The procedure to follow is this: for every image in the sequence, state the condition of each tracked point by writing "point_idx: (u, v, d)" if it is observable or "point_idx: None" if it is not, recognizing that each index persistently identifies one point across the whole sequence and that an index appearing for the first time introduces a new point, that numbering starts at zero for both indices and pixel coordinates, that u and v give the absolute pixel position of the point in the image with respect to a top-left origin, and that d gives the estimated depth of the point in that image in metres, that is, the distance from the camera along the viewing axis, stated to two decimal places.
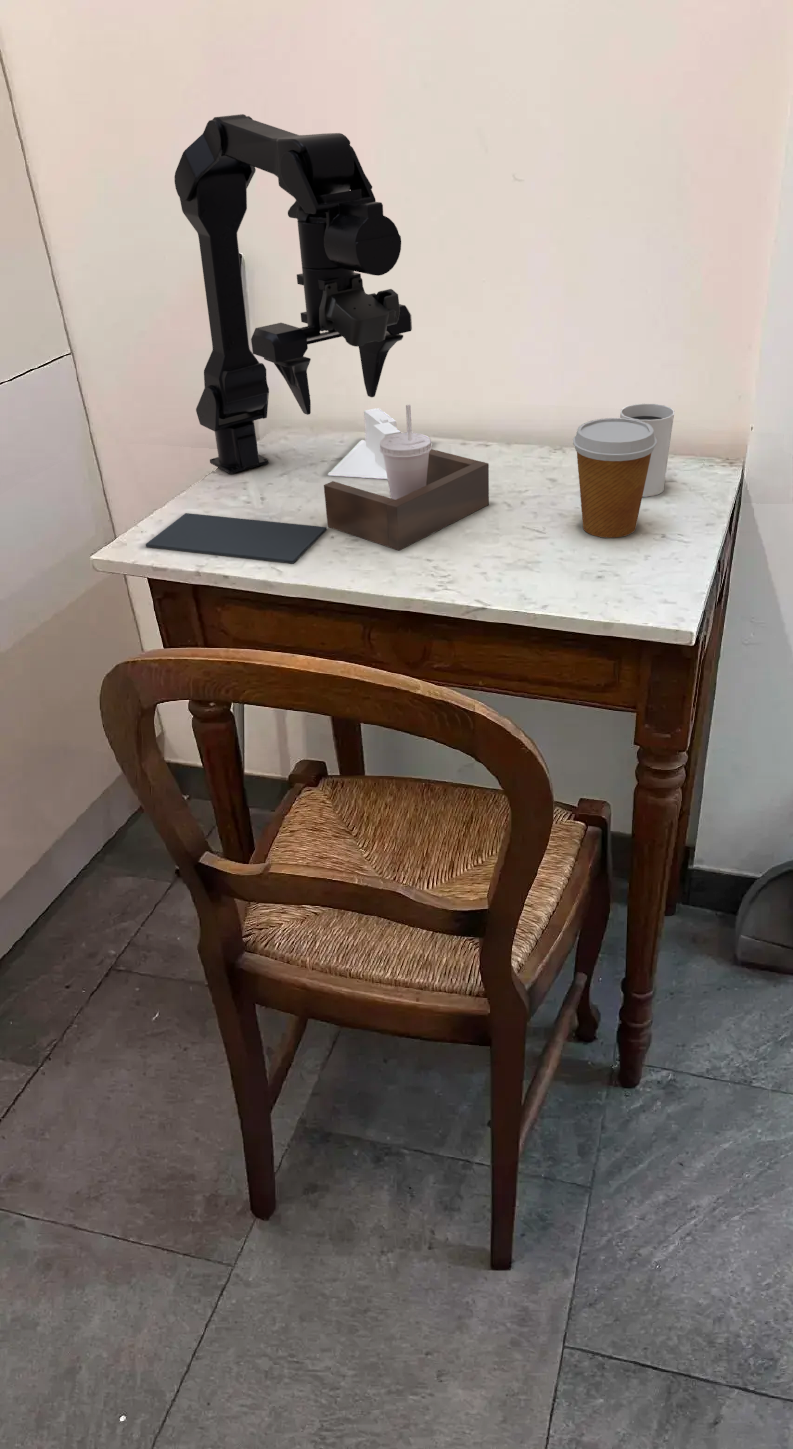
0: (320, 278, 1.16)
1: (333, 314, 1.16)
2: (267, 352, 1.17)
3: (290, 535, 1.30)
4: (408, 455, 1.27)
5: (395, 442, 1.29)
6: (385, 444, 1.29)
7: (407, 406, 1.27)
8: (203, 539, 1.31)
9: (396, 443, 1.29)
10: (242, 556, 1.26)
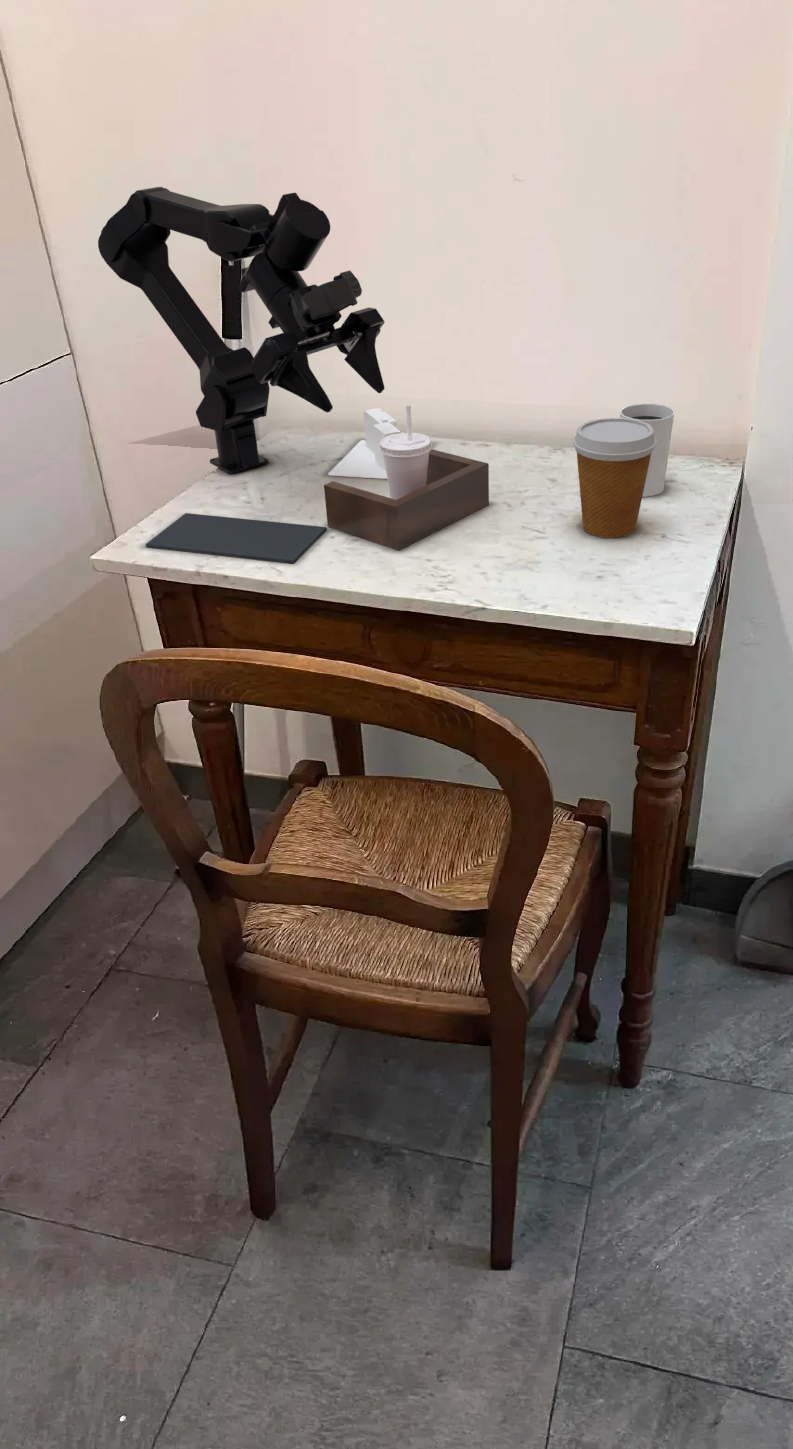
0: (283, 296, 1.29)
1: (305, 306, 1.27)
2: (267, 359, 1.26)
3: (290, 535, 1.30)
4: (408, 455, 1.27)
5: (395, 442, 1.29)
6: (385, 444, 1.29)
7: (407, 406, 1.27)
8: (203, 539, 1.31)
9: (396, 443, 1.29)
10: (242, 556, 1.26)
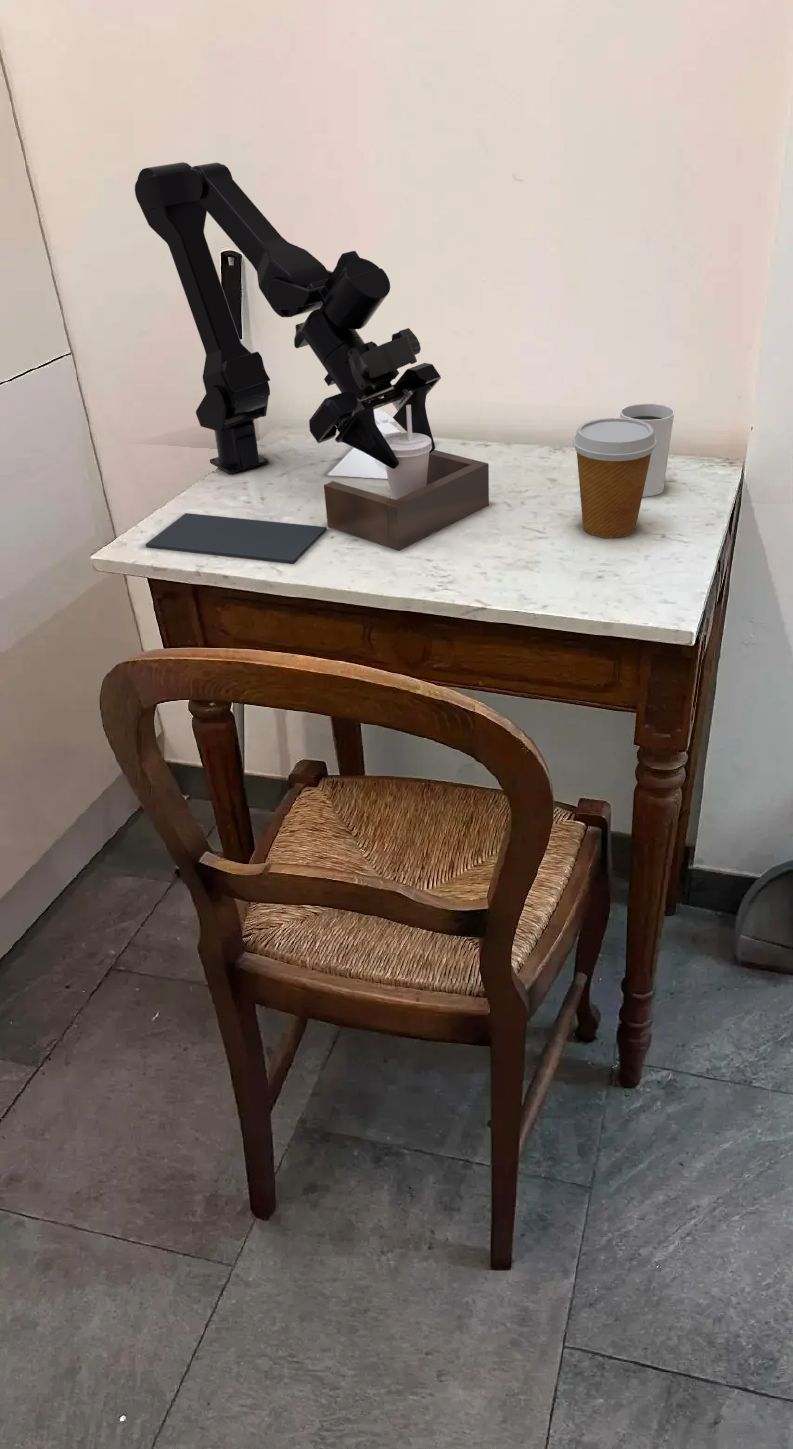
0: (341, 354, 1.27)
1: (364, 365, 1.25)
2: (326, 420, 1.23)
3: (290, 535, 1.30)
4: (408, 455, 1.27)
5: (395, 442, 1.29)
6: None
7: (407, 406, 1.27)
8: (203, 539, 1.31)
9: (396, 443, 1.29)
10: (242, 556, 1.26)
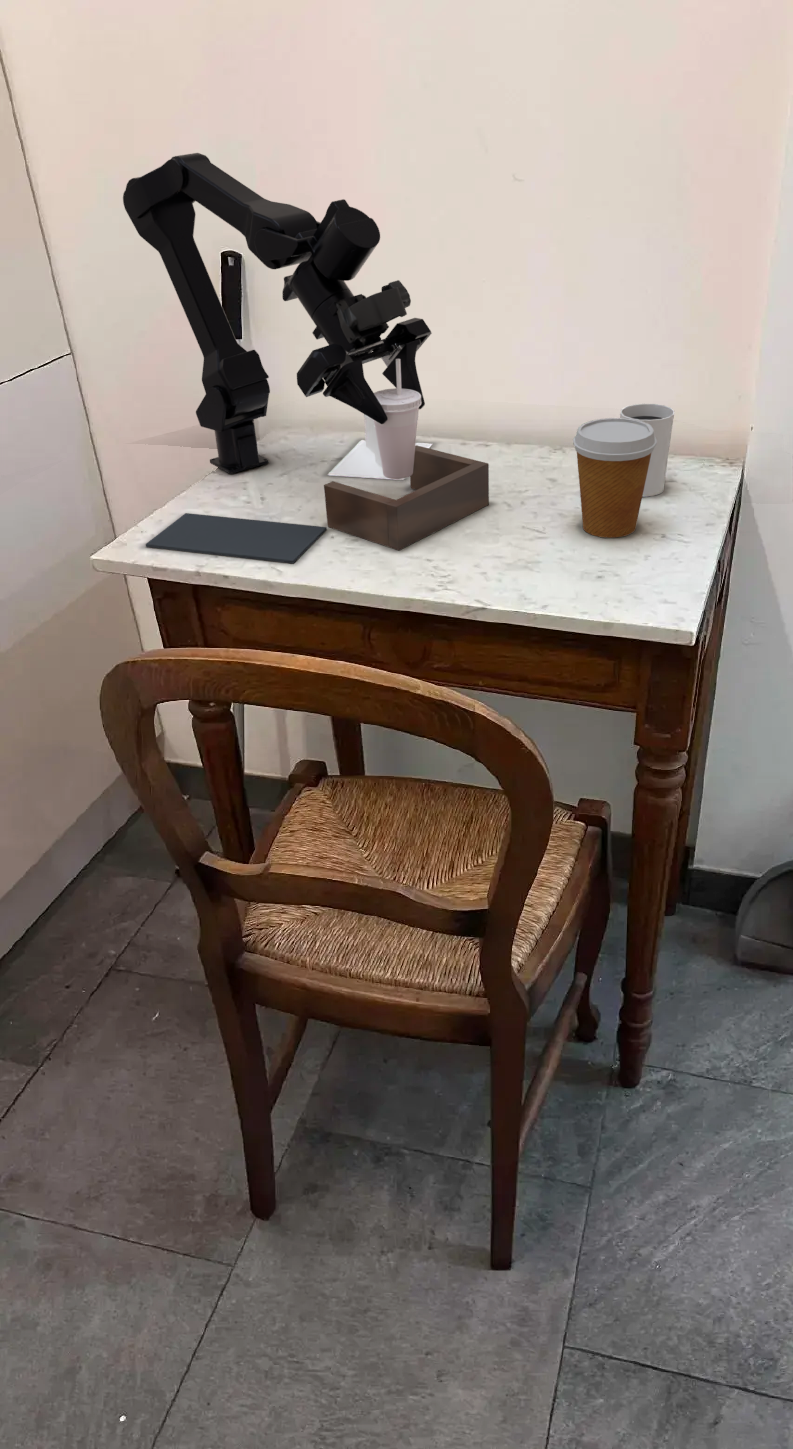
0: (329, 306, 1.25)
1: (353, 317, 1.23)
2: (314, 372, 1.21)
3: (290, 535, 1.30)
4: (397, 410, 1.25)
5: (384, 397, 1.27)
6: None
7: (397, 360, 1.25)
8: (203, 539, 1.31)
9: (385, 398, 1.27)
10: (242, 556, 1.26)
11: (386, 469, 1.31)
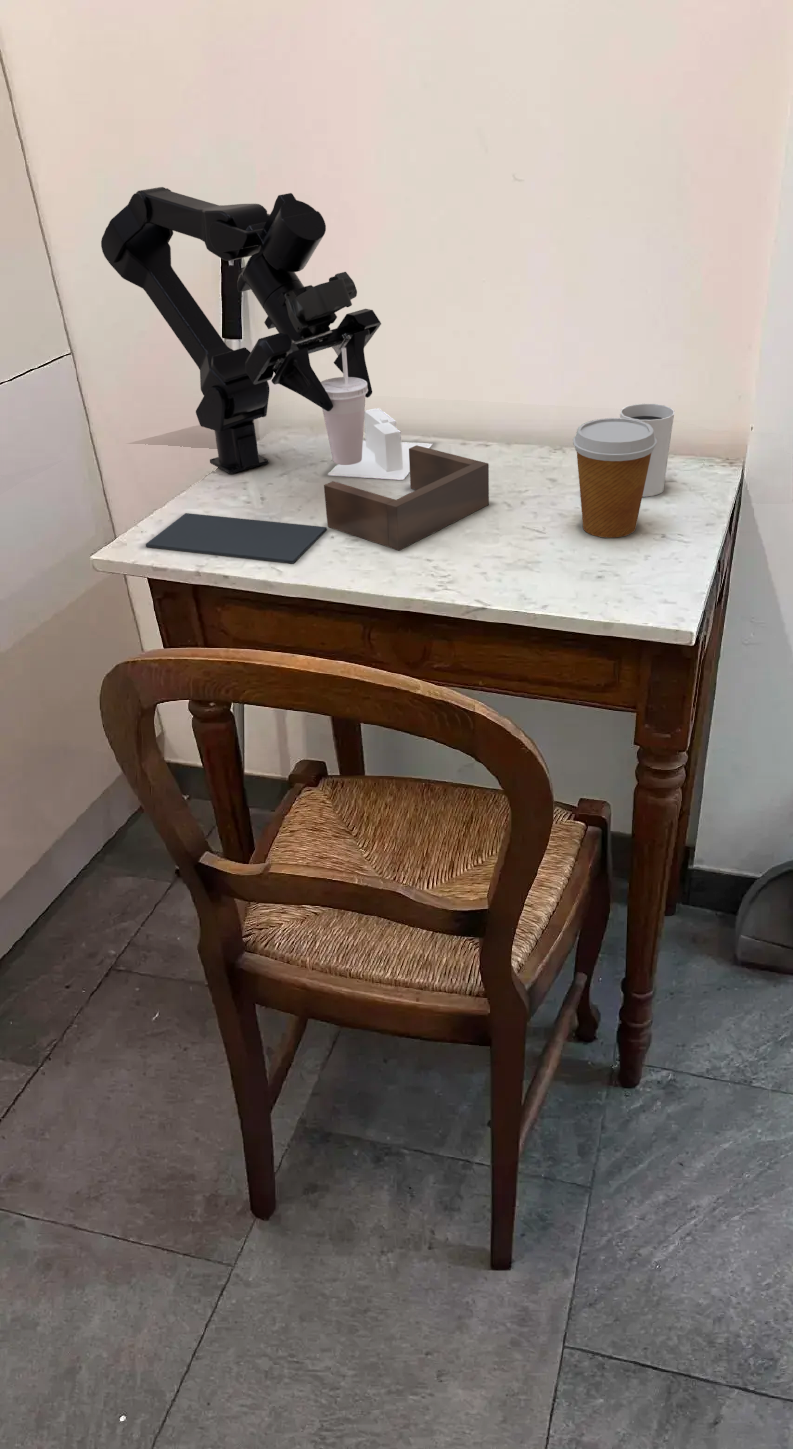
0: (279, 297, 1.29)
1: (300, 307, 1.27)
2: (260, 360, 1.26)
3: (290, 535, 1.30)
4: (343, 397, 1.29)
5: (331, 385, 1.31)
6: None
7: (342, 349, 1.29)
8: (203, 539, 1.31)
9: (332, 386, 1.31)
10: (242, 556, 1.26)
11: (335, 455, 1.35)
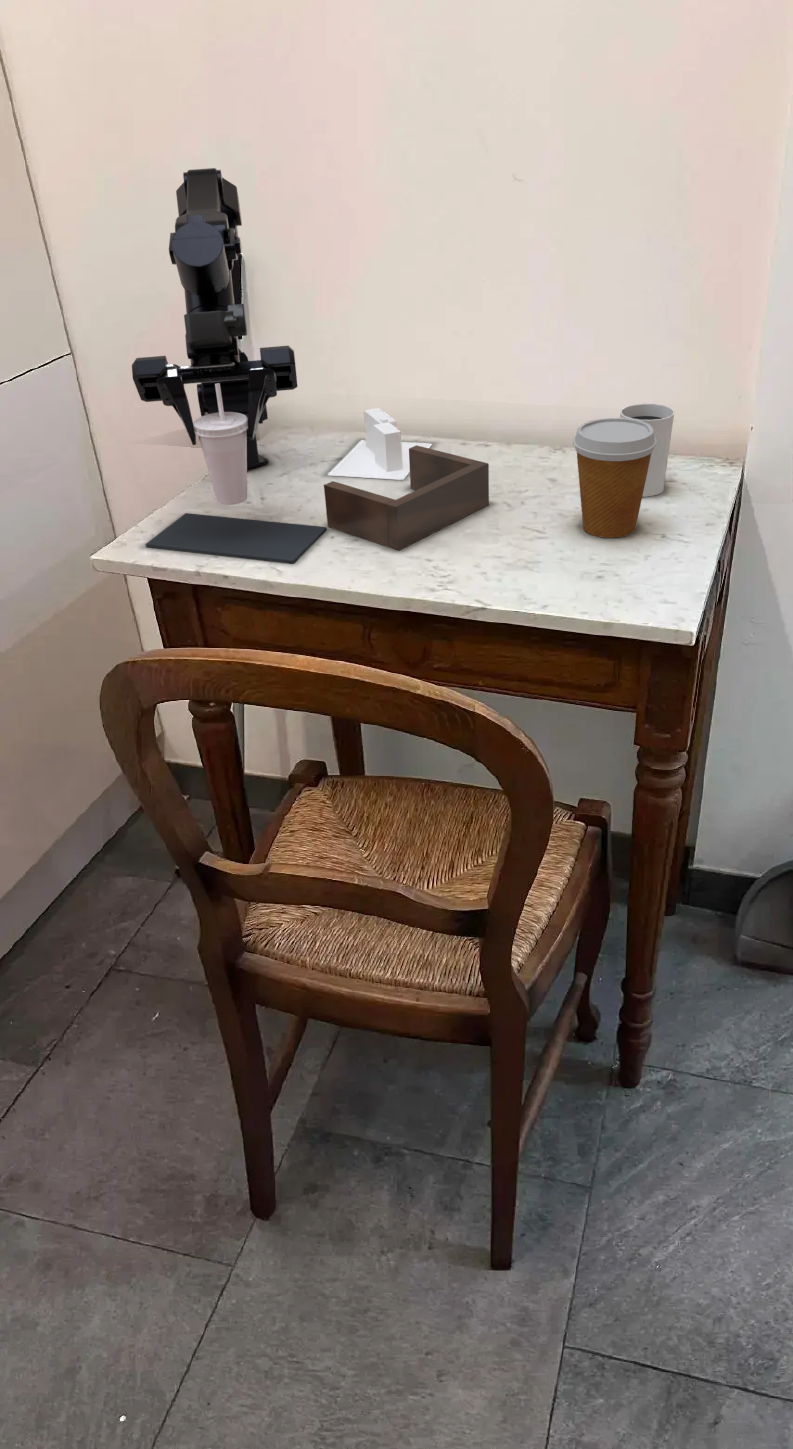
0: None
1: None
2: None
3: (290, 535, 1.30)
4: (202, 434, 1.22)
5: (210, 419, 1.24)
6: (202, 419, 1.24)
7: (215, 384, 1.21)
8: (203, 539, 1.31)
9: (210, 420, 1.24)
10: (242, 556, 1.26)
11: (214, 491, 1.28)
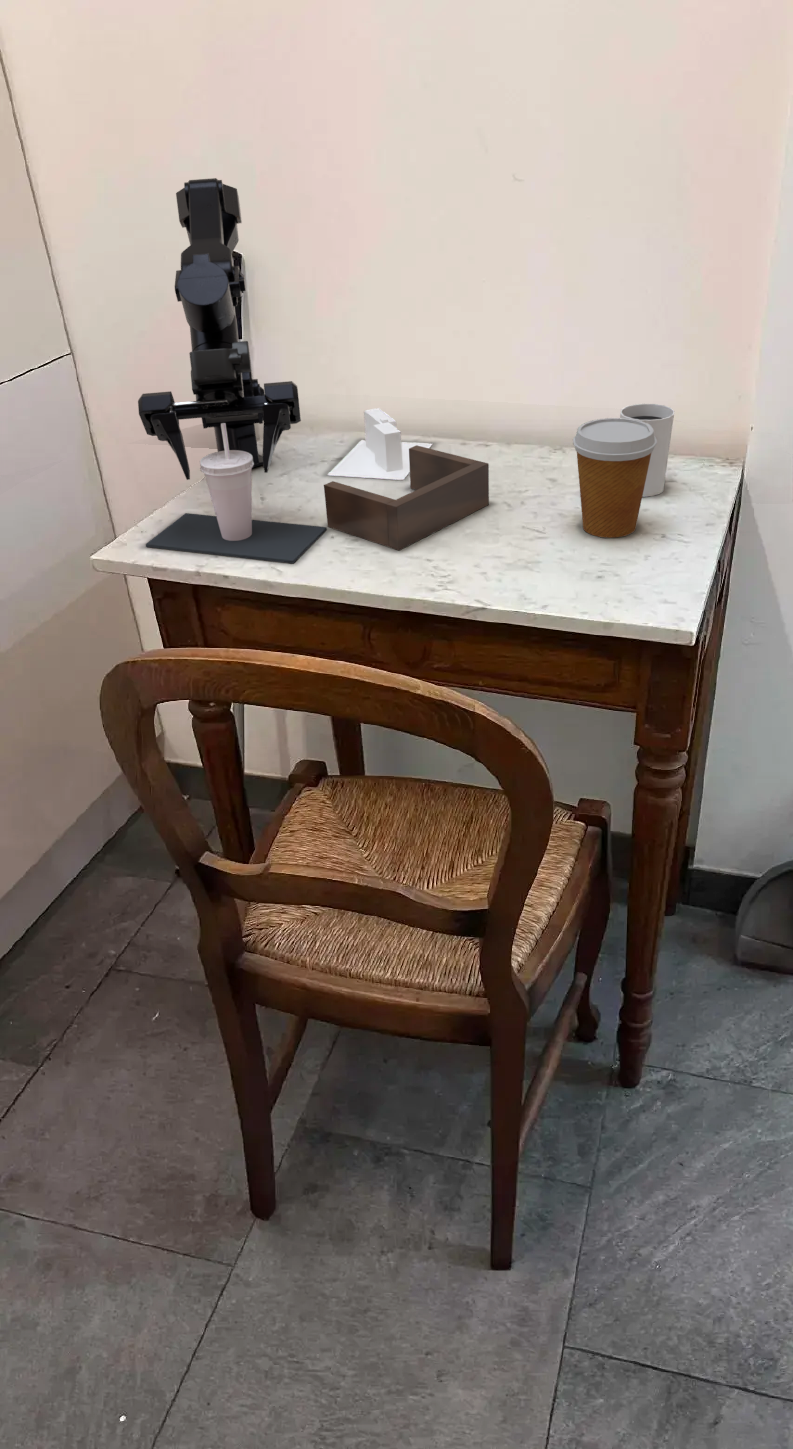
0: None
1: None
2: None
3: (290, 535, 1.30)
4: (208, 473, 1.24)
5: (216, 457, 1.27)
6: (208, 457, 1.27)
7: (221, 424, 1.23)
8: (203, 539, 1.31)
9: (216, 458, 1.26)
10: (242, 556, 1.26)
11: (219, 527, 1.31)
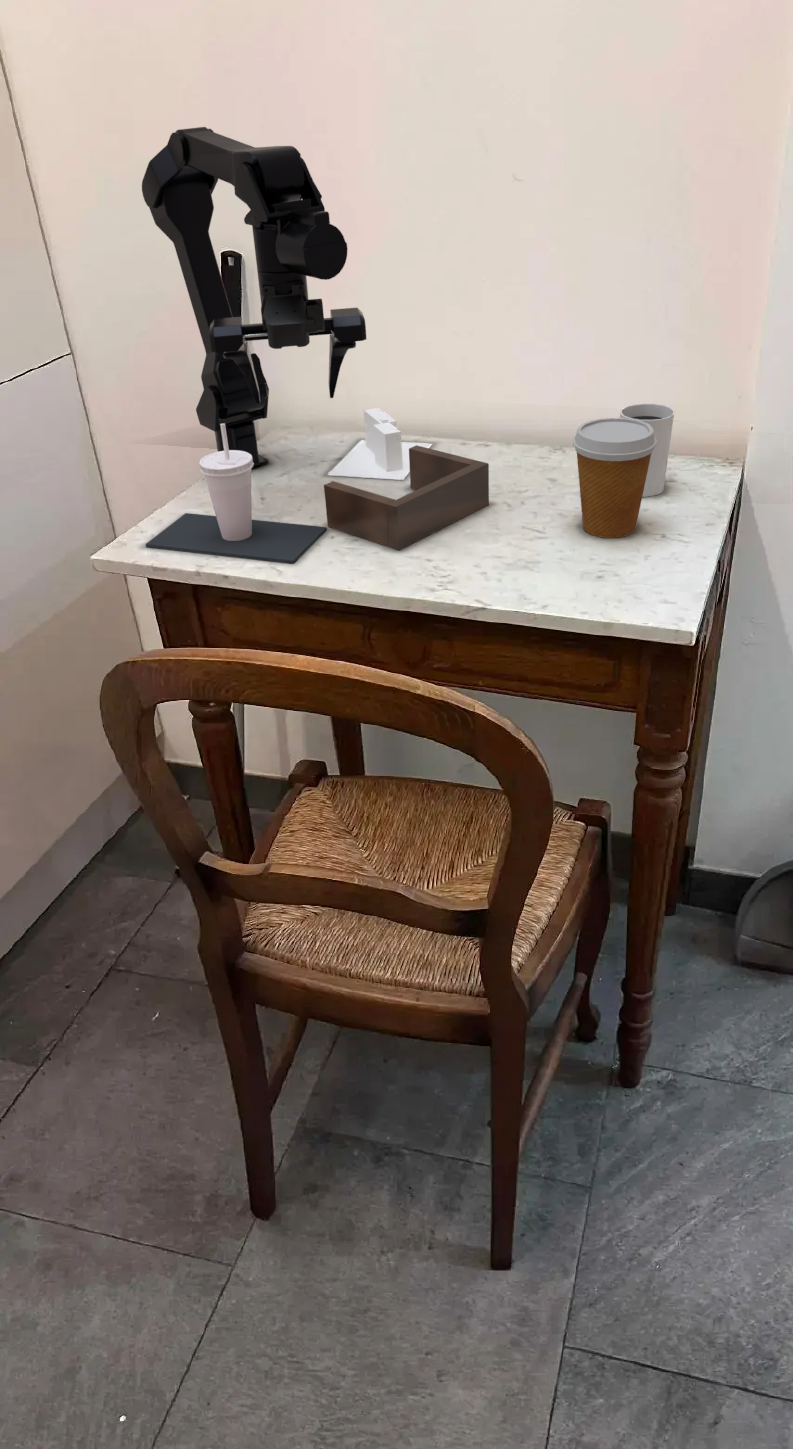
0: (263, 281, 1.24)
1: (264, 315, 1.24)
2: None
3: (290, 535, 1.30)
4: (207, 473, 1.24)
5: (216, 458, 1.26)
6: (208, 457, 1.27)
7: (221, 425, 1.23)
8: (203, 539, 1.31)
9: (215, 458, 1.26)
10: (242, 556, 1.26)
11: None
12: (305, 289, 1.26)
